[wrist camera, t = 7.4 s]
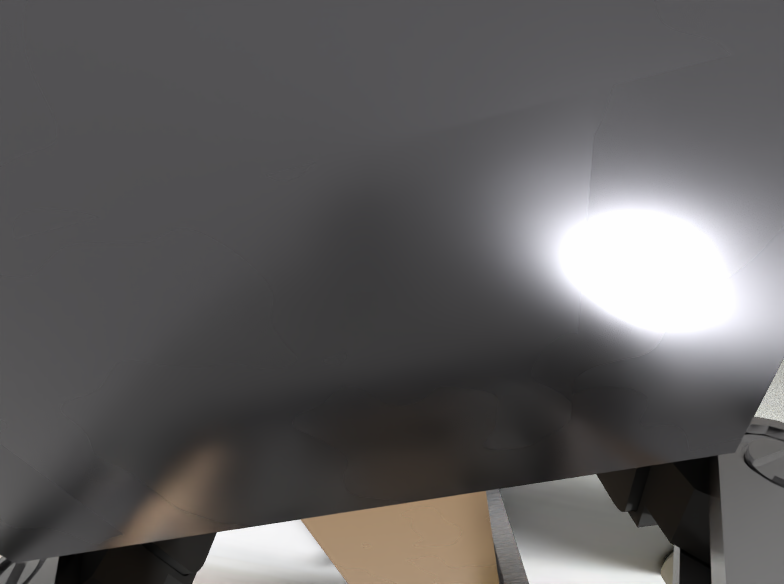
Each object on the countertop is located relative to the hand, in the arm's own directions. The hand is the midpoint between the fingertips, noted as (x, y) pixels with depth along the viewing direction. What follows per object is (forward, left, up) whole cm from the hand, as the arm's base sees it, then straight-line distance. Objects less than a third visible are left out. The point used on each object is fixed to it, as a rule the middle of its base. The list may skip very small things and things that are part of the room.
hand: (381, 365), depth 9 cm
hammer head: (0, -5, -2) cm, 5 cm away
